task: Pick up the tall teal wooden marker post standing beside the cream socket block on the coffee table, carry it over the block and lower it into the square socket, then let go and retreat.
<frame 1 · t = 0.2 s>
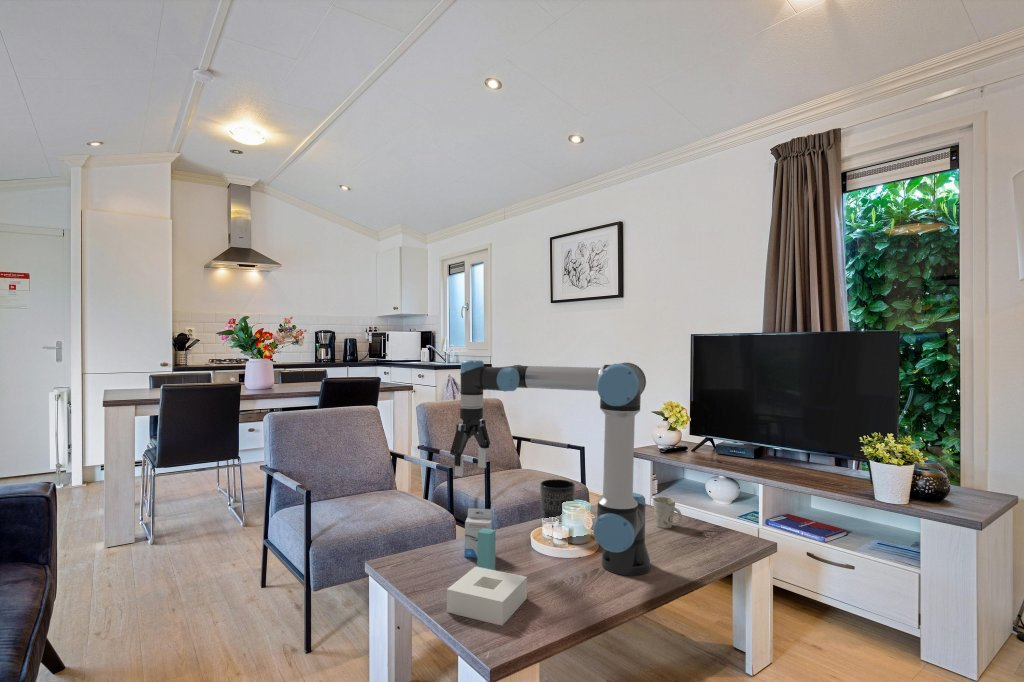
hand: (470, 471, 183), 28 cm above the table, fingers open, 13 cm apart
socket block: (487, 605, 149), on the table
ink box: (477, 556, 183), on the table
planter: (557, 531, 207), on the table
mug: (668, 527, 213), on the table
marker post: (486, 577, 166), on the table
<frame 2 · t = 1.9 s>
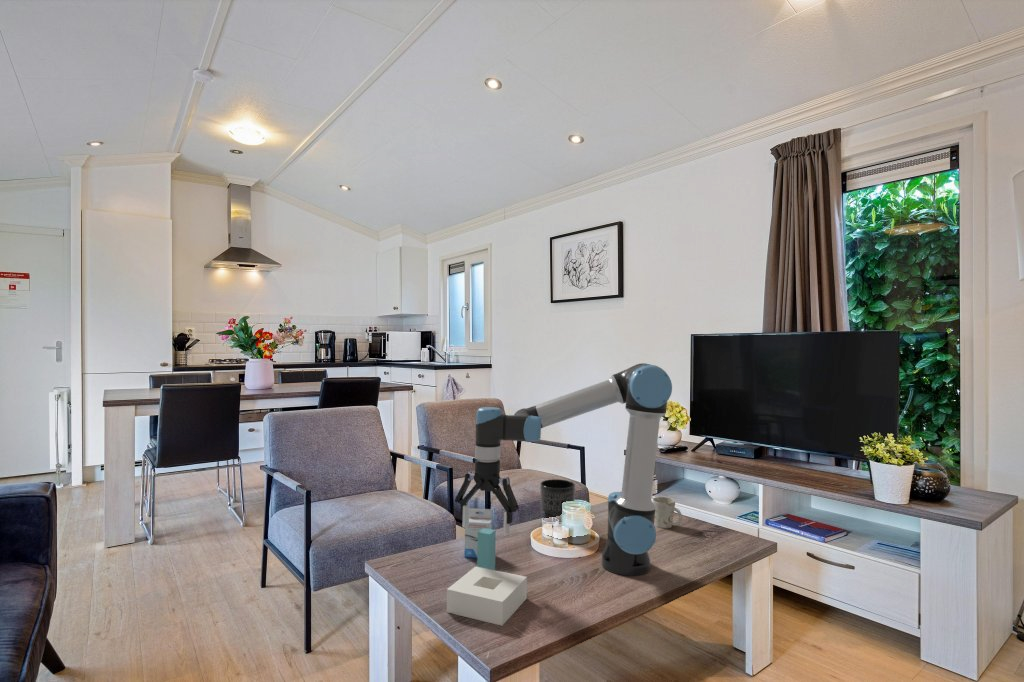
hand: (485, 530, 166), 14 cm above the table, fingers open, 13 cm apart
nothing on the table moved.
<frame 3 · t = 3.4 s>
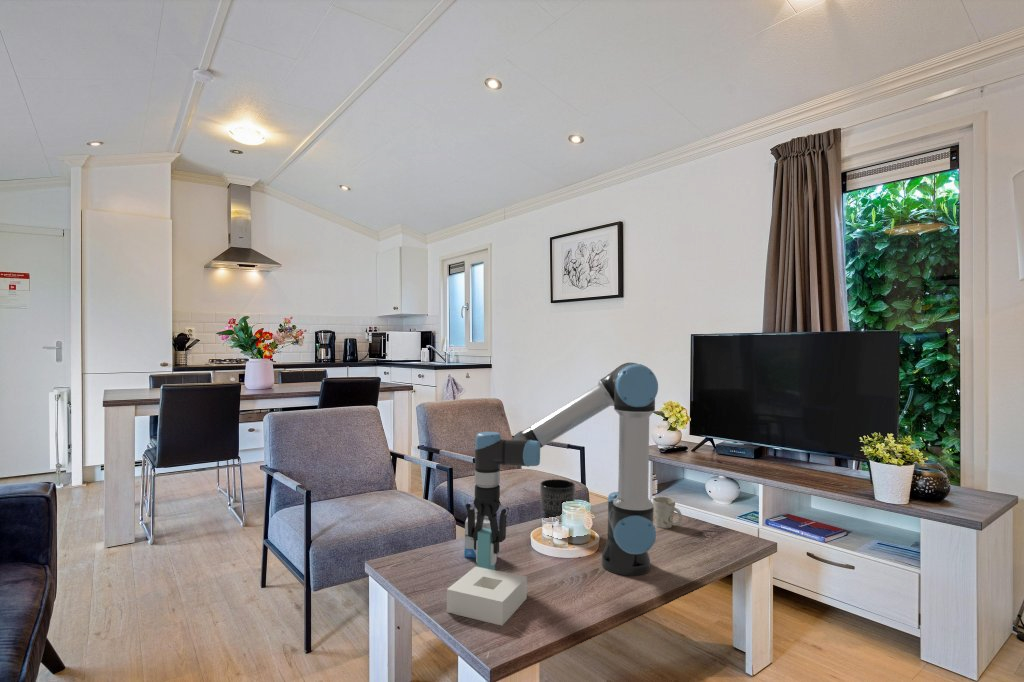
hand: (486, 562, 166), 5 cm above the table, fingers closed on marker post, 4 cm apart
marker post: (486, 577, 166), on the table, touching gripper
everything else where it was.
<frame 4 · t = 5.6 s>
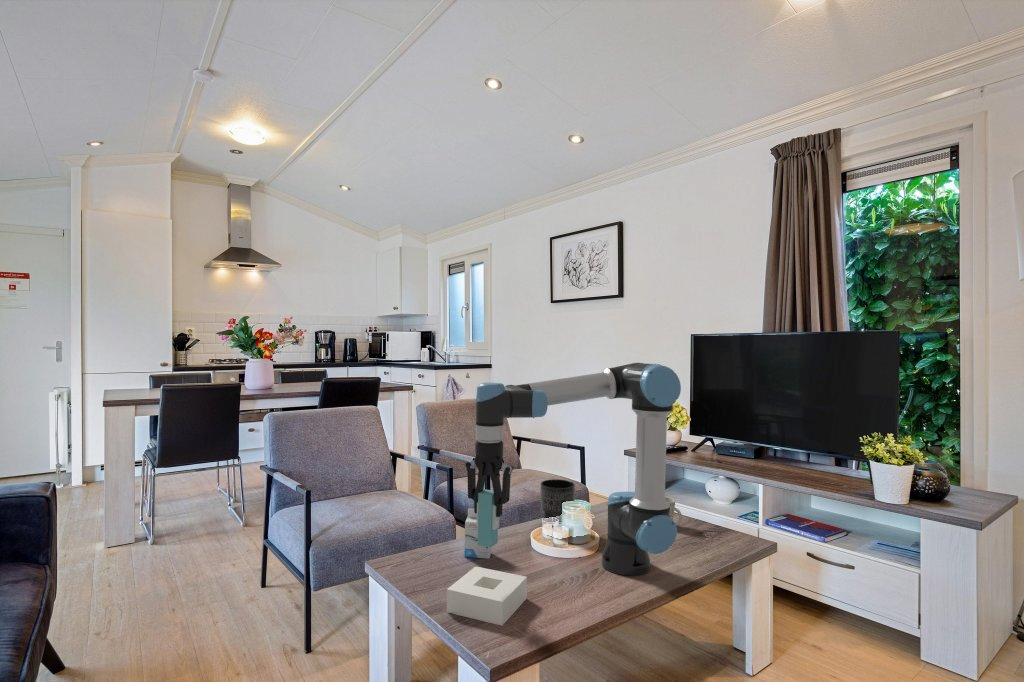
hand: (487, 526, 150), 21 cm above the table, fingers closed on marker post, 4 cm apart
marker post: (487, 543, 150), point 16 cm above the table, touching gripper
everything else where it was.
when the fingers open (7 cm above the table, at t = 7.8 s): marker post drops 3 cm, resting in socket block.
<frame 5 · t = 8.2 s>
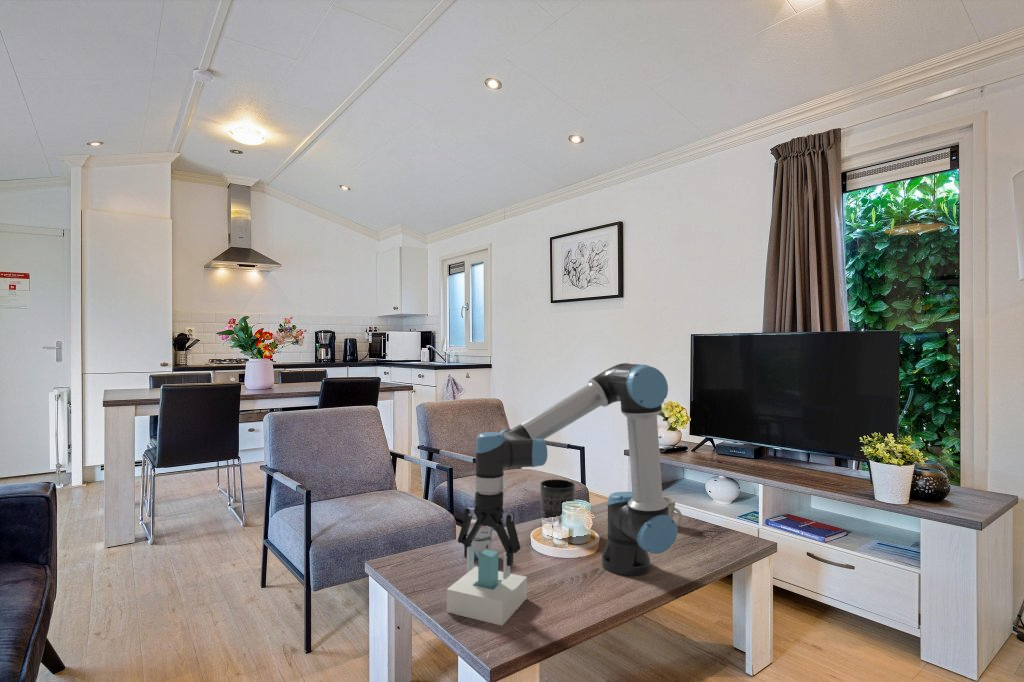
hand: (488, 573, 149), 9 cm above the table, fingers open, 10 cm apart
marker post: (487, 605, 149), resting in socket block
everything else where it was.
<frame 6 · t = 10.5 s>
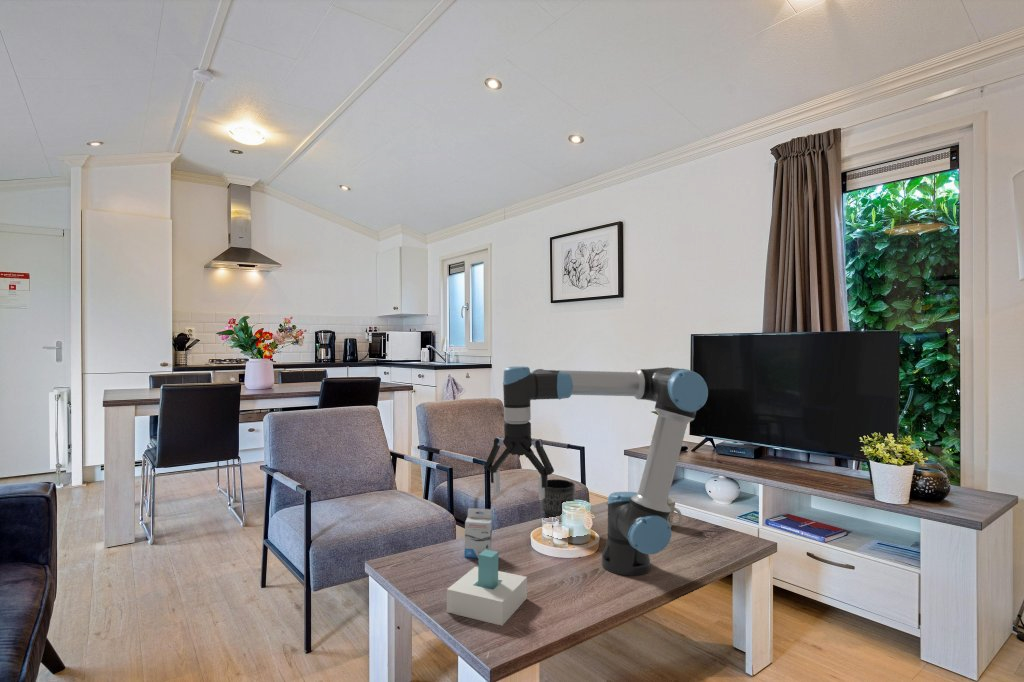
hand: (519, 496, 157), 27 cm above the table, fingers open, 13 cm apart
nothing on the table moved.
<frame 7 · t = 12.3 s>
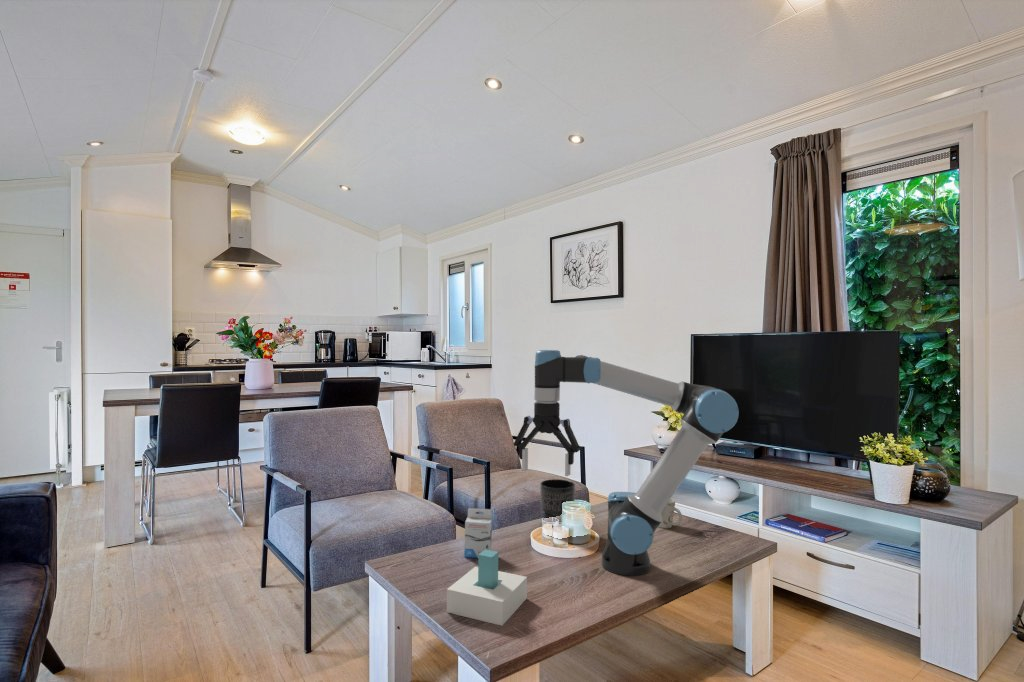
hand: (545, 472, 166), 32 cm above the table, fingers open, 13 cm apart
nothing on the table moved.
at the end: marker post 0.0 cm off-centre on the socket block, point 0.0 cm above the socket block's base; marker post tilted 0°; the gripper is holding nothing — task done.
